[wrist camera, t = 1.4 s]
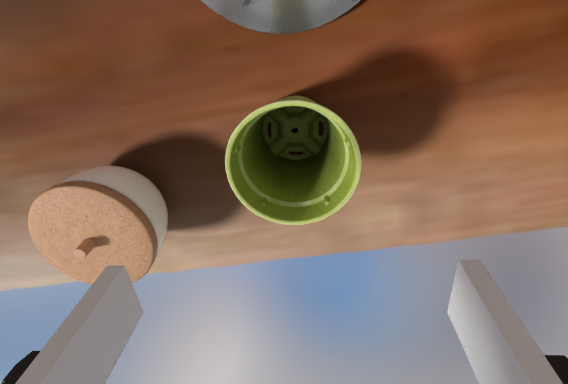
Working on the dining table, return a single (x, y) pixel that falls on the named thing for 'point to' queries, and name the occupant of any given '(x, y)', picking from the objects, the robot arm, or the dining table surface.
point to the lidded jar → (100, 223)
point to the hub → (280, 13)
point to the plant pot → (293, 162)
